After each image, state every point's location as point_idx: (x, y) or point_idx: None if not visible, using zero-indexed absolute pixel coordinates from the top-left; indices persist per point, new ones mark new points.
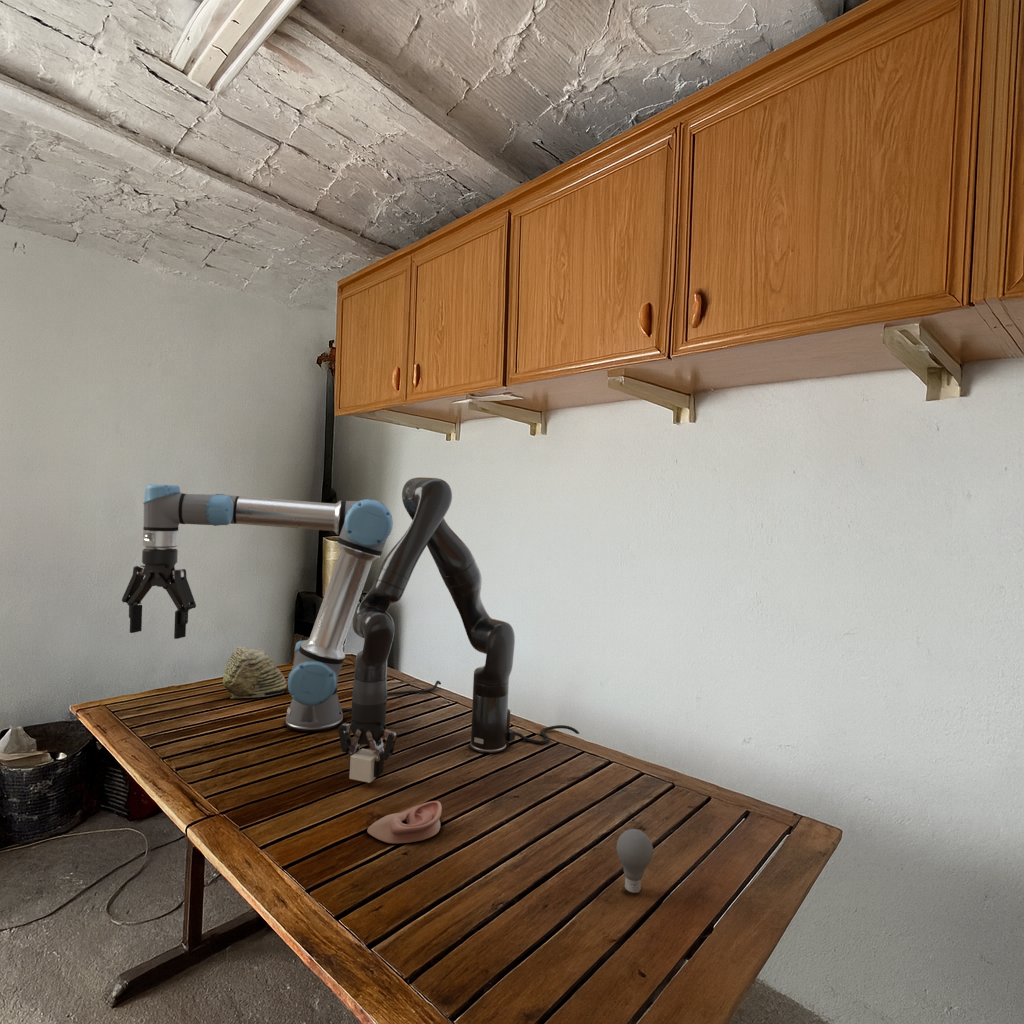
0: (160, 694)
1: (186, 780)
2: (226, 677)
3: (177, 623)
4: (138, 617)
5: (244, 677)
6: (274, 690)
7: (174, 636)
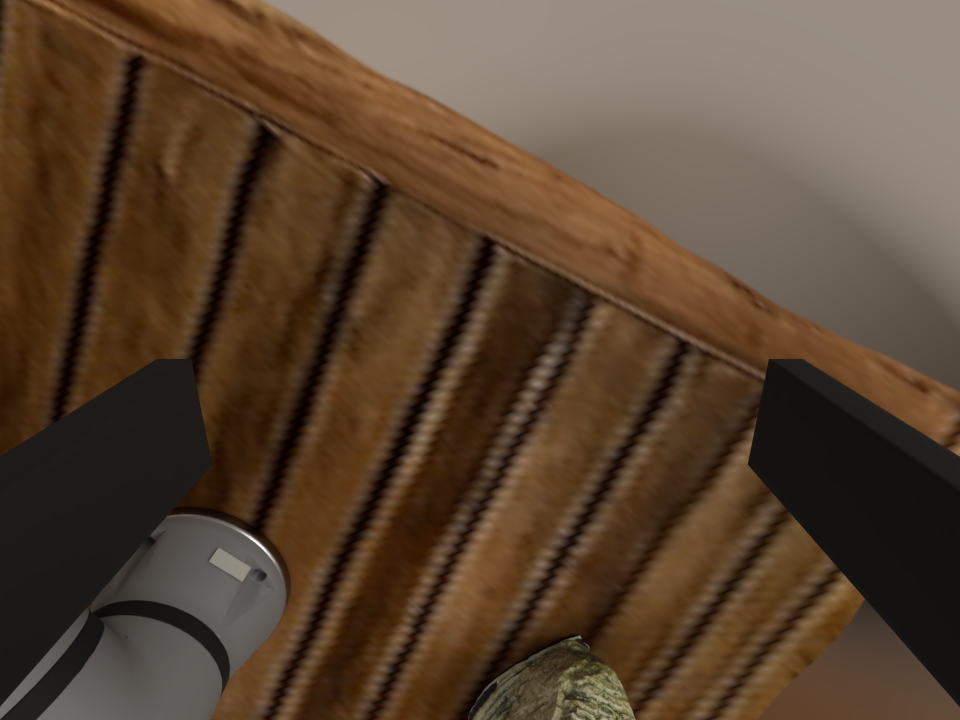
0: (816, 593)
1: (164, 72)
2: (602, 691)
3: (25, 444)
4: (853, 523)
5: (539, 708)
6: (479, 710)
7: (174, 367)
